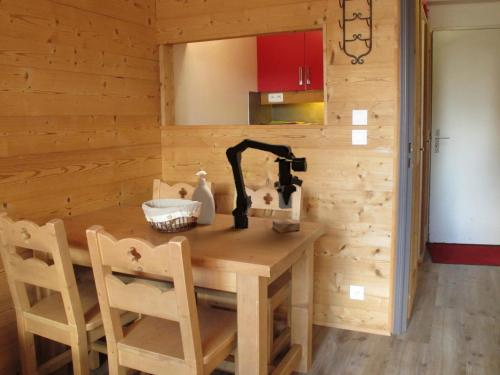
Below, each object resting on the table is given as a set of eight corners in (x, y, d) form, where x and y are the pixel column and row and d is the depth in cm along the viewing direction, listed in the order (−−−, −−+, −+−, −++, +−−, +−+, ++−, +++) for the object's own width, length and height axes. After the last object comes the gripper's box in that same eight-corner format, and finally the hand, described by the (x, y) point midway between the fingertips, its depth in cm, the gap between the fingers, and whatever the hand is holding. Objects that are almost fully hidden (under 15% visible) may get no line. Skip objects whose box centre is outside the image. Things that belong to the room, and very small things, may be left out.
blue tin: (281, 208, 233) (281, 194, 232) (278, 207, 238) (278, 192, 237) (291, 208, 234) (291, 193, 233) (288, 206, 238) (288, 192, 238)
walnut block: (279, 233, 232) (279, 224, 231) (272, 228, 241) (272, 220, 241) (299, 231, 235) (299, 222, 234) (291, 226, 244) (291, 218, 243)
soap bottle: (186, 223, 255) (184, 171, 251) (196, 220, 261) (194, 169, 258) (208, 226, 247) (206, 172, 243) (218, 223, 253) (217, 170, 250)
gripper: (307, 173, 226) (307, 206, 228) (295, 169, 244) (295, 200, 246) (283, 174, 224) (284, 208, 226) (273, 170, 242) (274, 201, 244)
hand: (285, 204), depth 235 cm, fingers closed on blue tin, 5 cm apart
